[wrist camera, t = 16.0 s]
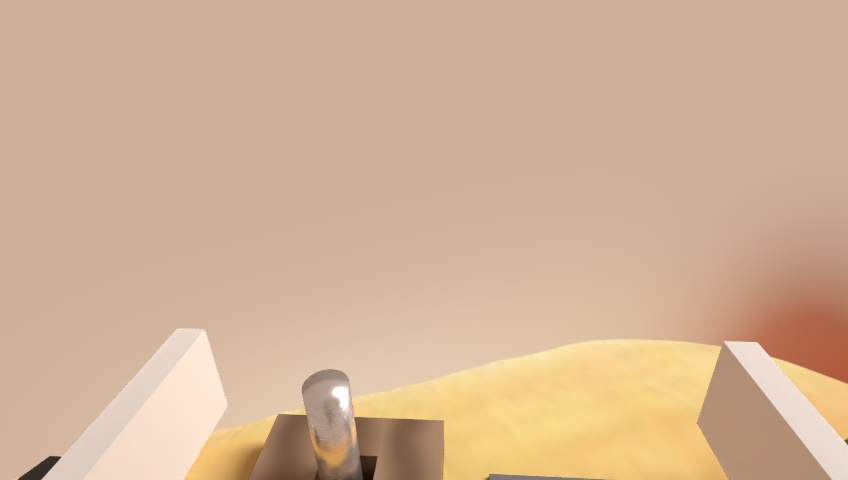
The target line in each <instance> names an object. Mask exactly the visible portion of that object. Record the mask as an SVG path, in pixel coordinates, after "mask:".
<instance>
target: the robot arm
mask: <svg viewBox="0 0 848 480" xmlns="http://www.w3.org/2000/svg"><path fill="white" fill-rule="evenodd" d="M227 406H228V405H227V401H226V398H225V395H224V391H223V388H222V385H221V381H220V378H219V375H218V371H217V368H216V365H215V361H214V358H213V355H212V352H211V348H210V345H209V342H208V339H207V335H206V332H205V329H177V330H176V331H175V332H174V333H173V334H172V335H171V336H170V337H169V338H168V340H167V341H166V342H165V343H164V344H163V345H162V346H161V347H160V348H159V350H158V351H157V352H156V353H155V354H154V355H153V356H152V357H151V358H150V360H149V361H148V362H147V363H146V364H145V365H144V366H143V367H142V368H141V370H140V371H139V372H138V373H137V374H136V375H135V376H134V377H133V379H132V380H131V381H130V382H129V383H128V384H127V385H126V387H124V389H123V390H122V391H121V392H120V393H119V394H118V395H117V396H116V397H115V398H114V400H113V401H112V402H111V403H110V404H109V405H108V406H107V408H106V409H105V410H104V411H103V412H102V413H101V414H100V415H99V417H97V419H96V420H95V421H94V422H93V423H92V424H91V425H90V426H89V428H88V429H87V430H86V431H85V432H84V433H83V434H82V435H81V436H80V437H79V439H78V440H77V441H76V442H75V443H74V444H73V445H72V446H71V447H70V449H69V450H68V451H67V452H66V453H65V454H64V455H63V456H62V457H57V456H50V457H48V458H47V459H45V460H44V461H42V462H41V463H40V464H38V465H37V466H36V467H34V468H33V469H31V470H30V471H29V472H27V473H26V474H24V475H23V476H22V477H20V478H19V479H18V480H184V478H185V476H186V475H187V473H188V471H189V470H190V468H191V466H192V465H193V463H194V461H195V459H196V458H197V456H198V454H199V453H200V451H201V449H202V448H203V446H204V444H205V443H206V441H207V439H208V438H209V436H210V434H211V433H212V431H213V429H214V427H215V426H216V424H217V423H218V421H219V419H220V418H221V416H222V414H223V413H224V411H225V409H226V408H227ZM697 424H698V426H699V428H700V429H701V431H702V433H703V435H704V436H705V438H706V440H707V442H708V443H709V445H710V447H711V449H712V451H713V452H714V454H715V456H716V458H717V459H718V461H719V463H720V465H721V466H722V468H723V470H724V472H725V474H726V475H727V477H728V479H729V480H848V438H847V439H845V440H843V439H842V438H841V437H840V436H839V434H838V433H837V432H836V431H835V430H834V429H833V428H832V427H831V425H830V424H829V423H828V422H827V421H826V420H825V419H824V417H823V416H822V415H821V414H820V413H819V412H818V411H817V410H816V408H815V407H814V406H813V405H812V404H811V403H810V402H809V401H808V399H807V398H806V397H805V396H804V395H803V394H802V393H801V391H800V390H799V389H798V388H797V387H796V386H795V385H794V384H793V382H792V381H791V380H790V379H789V378H788V377H787V376H786V374H785V373H784V372H783V371H782V370H781V369H780V368H779V367H778V365H777V364H776V363H775V362H774V361H773V360H772V359H771V357H770V356H769V355H768V354H767V353H766V352H765V351H764V350H763V348H762V347H761V346H760V345H759V344H758V343H757V342H728V341H727V342H726V341H724V342H723V345H722V348H721V351H720V354H719V357H718V360H717V363H716V366H715V369H714V372H713V375H712V378H711V381H710V385H709V388H708V391H707V394H706V397H705V400H704V403H703V406H702V409H701V412H700V415H699V418H698V421H697Z"/></svg>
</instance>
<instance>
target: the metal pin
mask: <svg viewBox="0 0 848 480" xmlns="http://www.w3.org/2000/svg"><path fill="white" fill-rule="evenodd" d="M302 395H303V399H304V405H305V409H306V414H307V419H308V424H309V429H310V434H311V439H312V444H313V449H314V453H315V458H316V463H317V468H318V473H319V478H320V480H363V475H362V468H361V461H360V454H359V447H358V440H357V433H356V426H355V419H354V412H353V405H352V398H351V392H350V384H349V379H348V377H347V376H346V374H344V373H343V372H341V371H339V370H332V369H328V370H322V371H319V372H317V373H315V374H313V375H311V376H310V377H309V378H308V379H307V380H306V381H305V382H304V384H303V386H302Z"/></svg>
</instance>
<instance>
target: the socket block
mask: <svg viewBox="0 0 848 480" xmlns="http://www.w3.org/2000/svg"><path fill="white" fill-rule="evenodd" d="M354 419H355V426H356V433H357V440H358V447H359V454H360V461H361V468H362V475H363V480H443V462H444V421H441V420H415V419H389V418H364V417H354ZM248 480H320V478H319V473H318V468H317V463H316V458H315V453H314V449H313V444H312V439H311V434H310V429H309V424H308V419H307V415H287V414H278V416H277V418H276V420H275V422H274V425H273V427H272V429H271V431H270V433H269V435H268V438H267V440H266V442H265V444H264V446H263V449H262V451H261V453H260V455H259V457H258V459H257V462H256V464H255V466H254V468H253V470H252V472H251V475H250V477H249V479H248Z"/></svg>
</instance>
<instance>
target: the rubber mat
mask: <svg viewBox="0 0 848 480" xmlns="http://www.w3.org/2000/svg"><path fill="white" fill-rule="evenodd" d="M489 480H603V479H582V478H562V477H541V476H520V475H500V474H489Z"/></svg>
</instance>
